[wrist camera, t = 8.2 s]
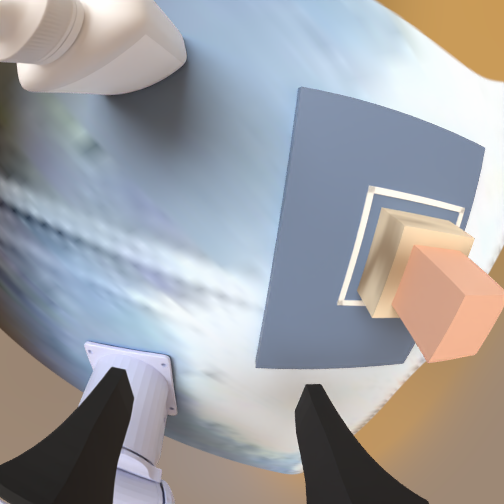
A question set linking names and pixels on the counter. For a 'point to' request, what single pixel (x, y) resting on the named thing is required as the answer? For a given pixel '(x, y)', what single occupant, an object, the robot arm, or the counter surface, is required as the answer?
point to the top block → (447, 303)
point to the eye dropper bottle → (89, 45)
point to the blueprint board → (352, 225)
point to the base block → (402, 254)
